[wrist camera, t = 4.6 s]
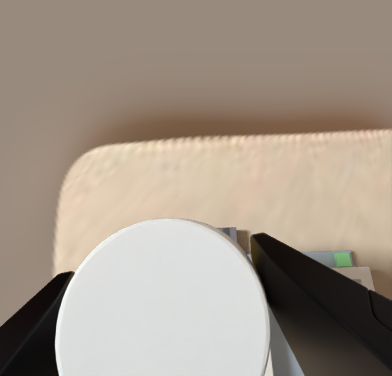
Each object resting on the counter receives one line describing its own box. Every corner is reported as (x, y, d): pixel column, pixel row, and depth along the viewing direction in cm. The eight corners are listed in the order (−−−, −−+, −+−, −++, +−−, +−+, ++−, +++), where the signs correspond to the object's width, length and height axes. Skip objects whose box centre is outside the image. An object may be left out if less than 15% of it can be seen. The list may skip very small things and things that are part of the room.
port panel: (383, 420, 18) (410, 439, 16) (257, 426, 18) (267, 447, 15) (346, 251, 22) (364, 247, 19) (241, 255, 21) (247, 251, 19)
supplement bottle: (212, 233, 15) (244, 154, 6) (251, 335, 14) (376, 437, 4) (119, 267, 15) (-5, 235, 5) (147, 378, 13) (36, 609, 4)
